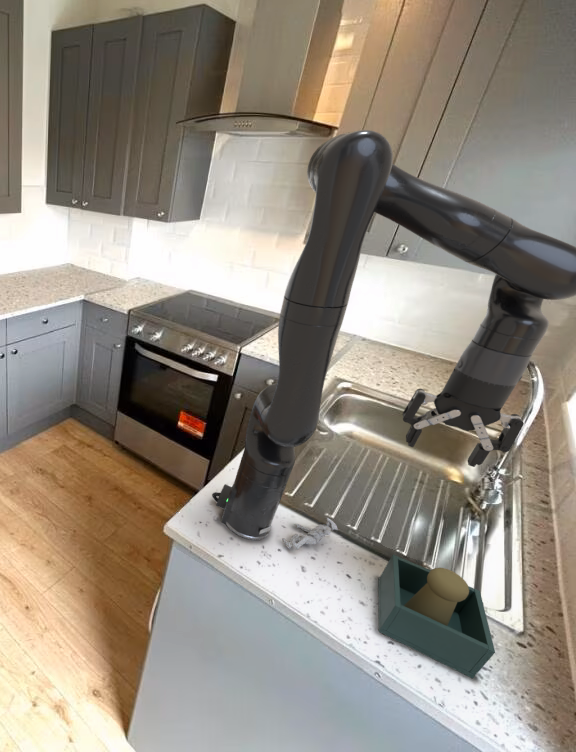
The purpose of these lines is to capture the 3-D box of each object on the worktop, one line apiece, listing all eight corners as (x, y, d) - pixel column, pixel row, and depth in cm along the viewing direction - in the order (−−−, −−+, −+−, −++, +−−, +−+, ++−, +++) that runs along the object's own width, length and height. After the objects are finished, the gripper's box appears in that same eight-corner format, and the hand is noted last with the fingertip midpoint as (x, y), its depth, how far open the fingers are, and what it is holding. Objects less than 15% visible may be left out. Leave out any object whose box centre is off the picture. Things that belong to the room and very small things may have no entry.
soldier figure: (272, 537, 92) (309, 507, 95) (285, 558, 91) (322, 527, 95) (297, 541, 84) (336, 508, 88) (312, 564, 84) (351, 529, 87)
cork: (414, 633, 72) (444, 590, 67) (395, 600, 78) (421, 558, 73) (453, 640, 72) (486, 597, 67) (431, 606, 77) (460, 564, 72)
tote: (378, 631, 73) (395, 605, 70) (378, 579, 83) (392, 554, 80) (472, 678, 67) (495, 652, 64) (460, 616, 77) (480, 590, 74)
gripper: (540, 378, 67) (488, 460, 75) (429, 352, 74) (391, 429, 82) (554, 396, 62) (496, 483, 69) (432, 366, 69) (391, 448, 76)
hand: (439, 454), depth 75 cm, fingers open, 8 cm apart
